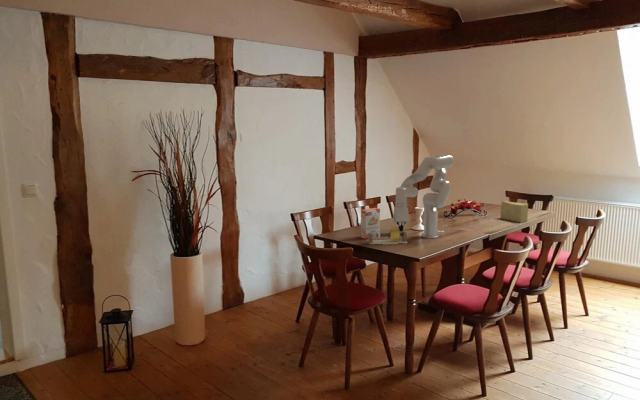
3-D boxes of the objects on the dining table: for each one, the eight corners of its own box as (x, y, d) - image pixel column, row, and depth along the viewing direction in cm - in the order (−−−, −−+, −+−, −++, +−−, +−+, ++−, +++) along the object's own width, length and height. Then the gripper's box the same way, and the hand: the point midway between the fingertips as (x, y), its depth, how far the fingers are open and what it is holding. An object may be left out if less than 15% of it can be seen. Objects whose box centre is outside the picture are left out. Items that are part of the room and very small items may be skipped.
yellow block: (396, 238, 340) (396, 227, 339) (399, 240, 333) (399, 229, 332) (388, 238, 339) (388, 227, 338) (391, 240, 332) (391, 230, 331)
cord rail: (403, 240, 342) (403, 229, 340) (407, 243, 333) (407, 232, 332) (367, 241, 339) (367, 231, 338) (370, 245, 330) (370, 234, 329)
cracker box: (366, 239, 346) (365, 210, 343) (360, 238, 351) (360, 209, 348) (380, 236, 354) (380, 208, 351) (374, 235, 359) (374, 207, 356)
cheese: (497, 218, 407) (497, 201, 405) (504, 217, 413) (505, 200, 410) (520, 223, 389) (521, 204, 387) (527, 221, 394) (528, 203, 392)
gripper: (410, 203, 337) (409, 229, 340) (389, 204, 336) (389, 230, 338) (413, 205, 330) (413, 232, 333) (391, 206, 328) (391, 232, 331)
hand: (400, 231), depth 335 cm, fingers closed
